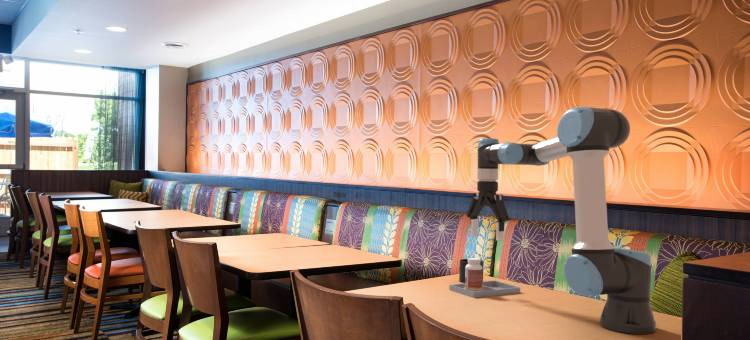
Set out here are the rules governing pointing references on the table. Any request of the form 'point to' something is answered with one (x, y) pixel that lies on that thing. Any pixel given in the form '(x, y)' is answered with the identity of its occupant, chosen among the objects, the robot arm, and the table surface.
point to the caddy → (486, 289)
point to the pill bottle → (473, 274)
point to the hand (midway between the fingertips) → (486, 238)
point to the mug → (462, 270)
